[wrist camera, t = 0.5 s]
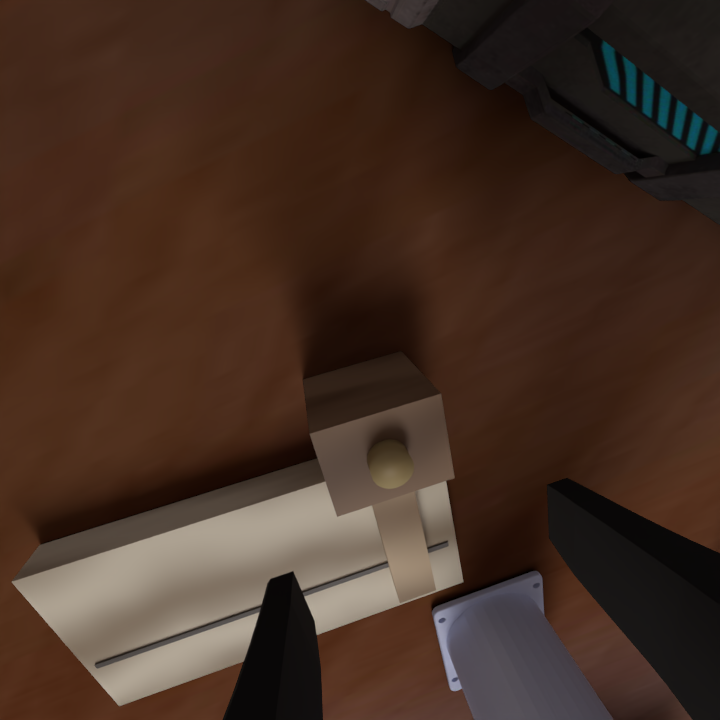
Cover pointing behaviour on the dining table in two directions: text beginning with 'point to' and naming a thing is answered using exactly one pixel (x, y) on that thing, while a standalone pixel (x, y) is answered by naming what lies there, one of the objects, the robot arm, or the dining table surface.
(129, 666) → the board
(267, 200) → the dining table surface
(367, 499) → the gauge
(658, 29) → the black flashlight
